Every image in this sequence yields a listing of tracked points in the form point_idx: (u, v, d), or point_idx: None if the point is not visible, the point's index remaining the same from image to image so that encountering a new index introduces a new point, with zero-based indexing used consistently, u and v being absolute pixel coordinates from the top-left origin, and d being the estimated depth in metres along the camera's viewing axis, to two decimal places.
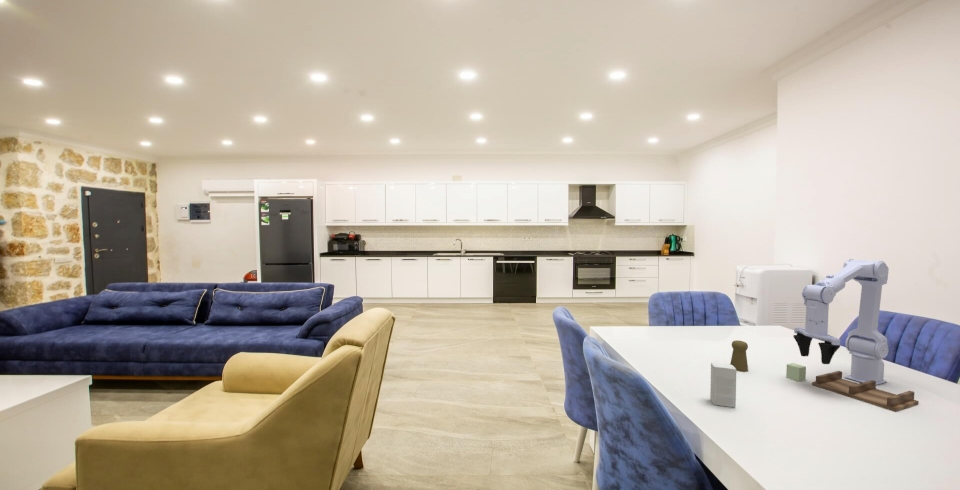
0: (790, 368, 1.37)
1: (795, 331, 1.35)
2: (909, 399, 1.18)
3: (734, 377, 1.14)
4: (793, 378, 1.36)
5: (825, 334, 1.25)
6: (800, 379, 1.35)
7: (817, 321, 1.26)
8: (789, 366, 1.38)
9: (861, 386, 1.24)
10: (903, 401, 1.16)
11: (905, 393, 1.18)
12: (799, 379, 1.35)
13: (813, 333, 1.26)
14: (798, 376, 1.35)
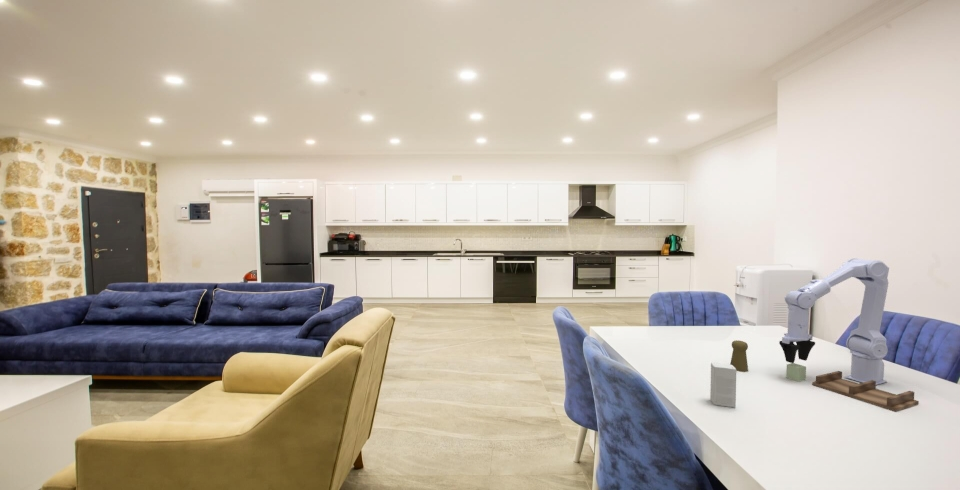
0: (790, 368, 1.37)
1: None
2: (909, 399, 1.18)
3: (734, 377, 1.14)
4: (793, 378, 1.36)
5: (794, 336, 1.35)
6: (800, 379, 1.35)
7: (788, 322, 1.38)
8: (789, 366, 1.38)
9: (861, 386, 1.24)
10: (903, 401, 1.16)
11: (905, 393, 1.18)
12: (799, 379, 1.35)
13: (787, 333, 1.39)
14: (798, 376, 1.35)
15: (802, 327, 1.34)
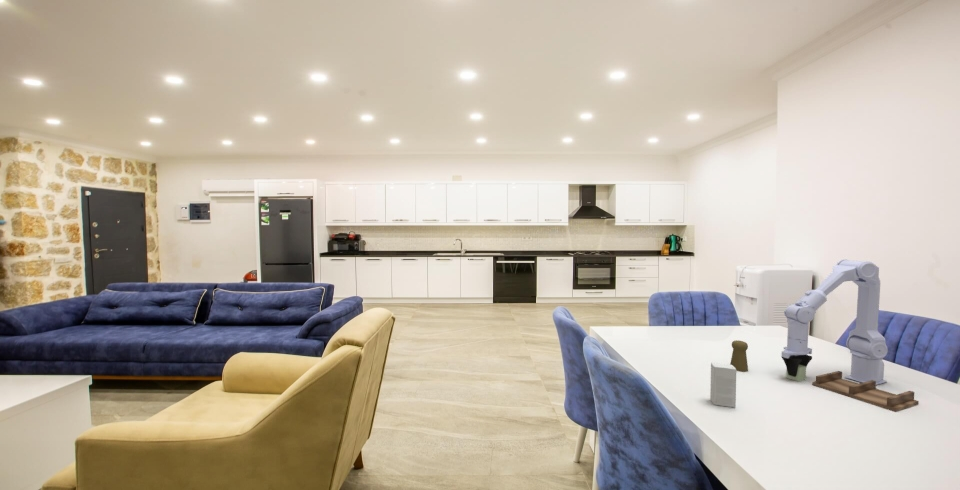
0: None
1: None
2: (909, 399, 1.18)
3: (734, 377, 1.14)
4: (793, 378, 1.36)
5: (794, 350, 1.36)
6: (800, 379, 1.35)
7: (788, 336, 1.38)
8: None
9: (861, 386, 1.24)
10: (903, 401, 1.16)
11: (905, 393, 1.18)
12: (799, 379, 1.35)
13: (786, 347, 1.39)
14: (798, 376, 1.35)
15: (801, 341, 1.34)
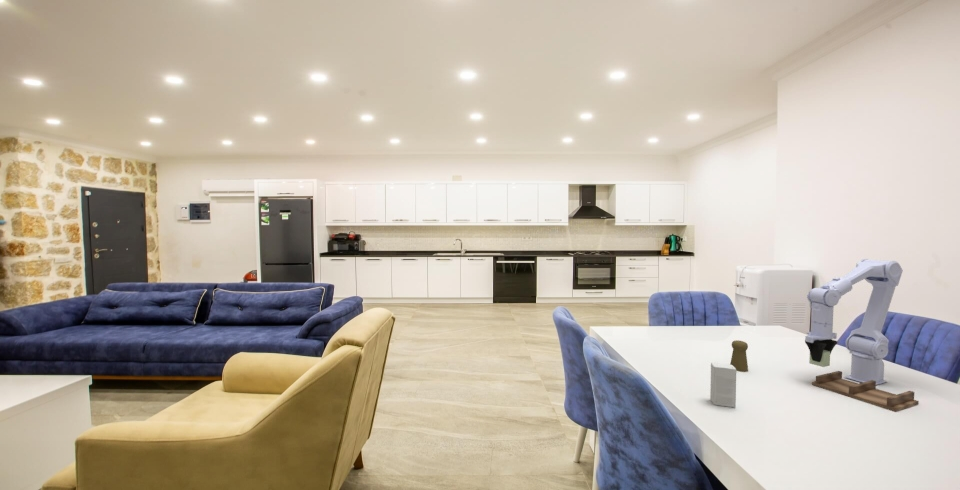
0: None
1: None
2: (909, 399, 1.18)
3: (734, 377, 1.14)
4: (817, 363, 1.32)
5: (818, 334, 1.31)
6: (824, 364, 1.31)
7: (811, 321, 1.34)
8: None
9: (861, 386, 1.24)
10: (903, 401, 1.16)
11: (905, 393, 1.18)
12: (823, 364, 1.31)
13: (810, 332, 1.35)
14: (822, 361, 1.31)
15: (826, 325, 1.30)
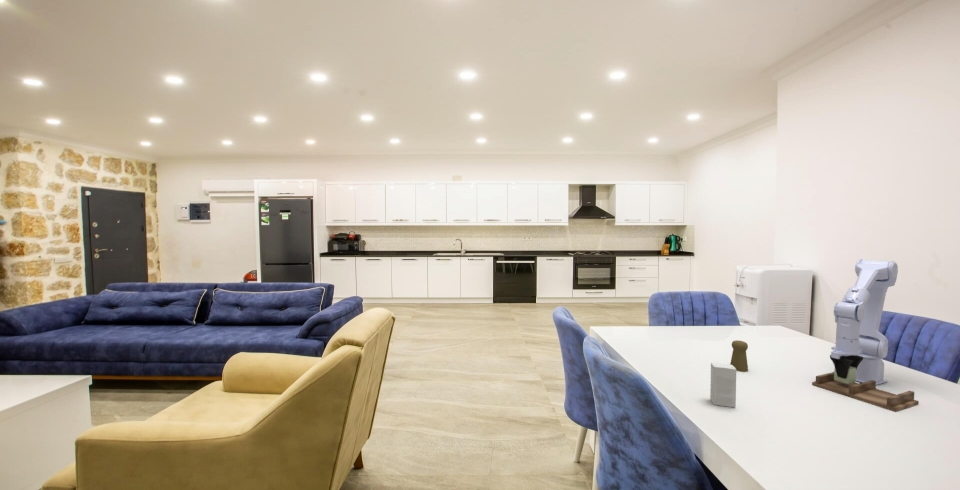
0: None
1: None
2: (909, 399, 1.18)
3: (734, 377, 1.14)
4: (842, 380, 1.28)
5: (844, 350, 1.27)
6: (850, 381, 1.27)
7: (837, 336, 1.29)
8: None
9: (861, 386, 1.24)
10: (903, 401, 1.16)
11: (905, 393, 1.18)
12: (849, 381, 1.27)
13: (835, 347, 1.30)
14: (848, 378, 1.27)
15: (853, 341, 1.26)
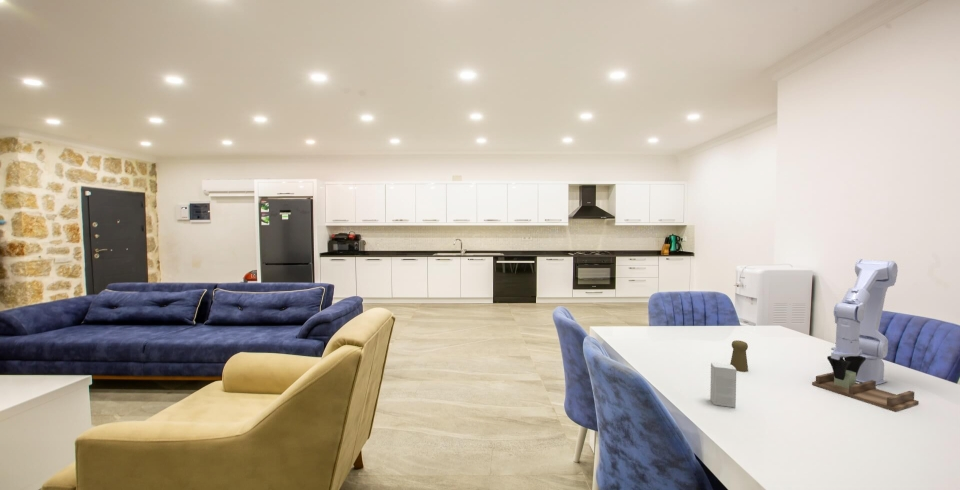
0: None
1: None
2: (909, 399, 1.18)
3: (734, 377, 1.14)
4: (842, 385, 1.28)
5: (844, 351, 1.27)
6: None
7: (837, 336, 1.29)
8: None
9: (861, 386, 1.24)
10: (903, 401, 1.16)
11: (905, 393, 1.18)
12: None
13: (835, 348, 1.30)
14: (848, 383, 1.27)
15: (853, 342, 1.26)
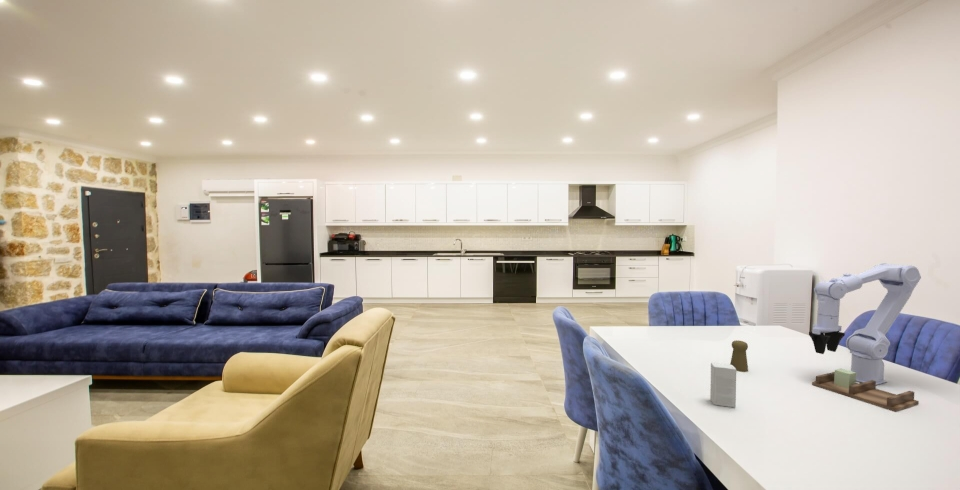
0: (839, 374, 1.29)
1: None
2: (909, 399, 1.18)
3: (734, 377, 1.14)
4: (842, 385, 1.28)
5: (824, 327, 1.34)
6: None
7: (818, 313, 1.36)
8: (837, 372, 1.29)
9: (861, 386, 1.24)
10: (903, 401, 1.16)
11: (905, 393, 1.18)
12: None
13: (816, 324, 1.37)
14: (848, 383, 1.27)
15: (833, 318, 1.33)
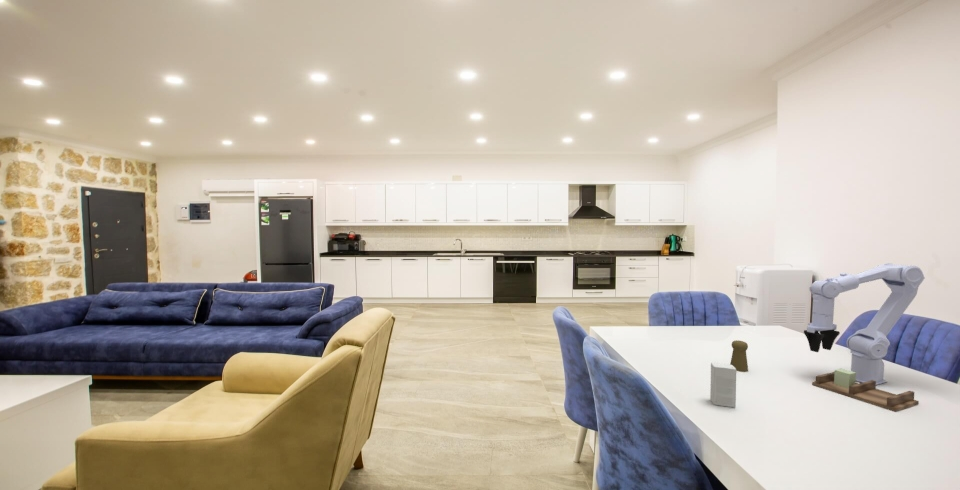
0: (839, 374, 1.29)
1: None
2: (909, 399, 1.18)
3: (734, 377, 1.14)
4: (842, 385, 1.28)
5: (819, 325, 1.36)
6: None
7: (813, 312, 1.38)
8: (837, 372, 1.29)
9: (861, 386, 1.24)
10: (903, 401, 1.16)
11: (905, 393, 1.18)
12: None
13: (811, 323, 1.39)
14: (848, 383, 1.27)
15: (827, 316, 1.35)
